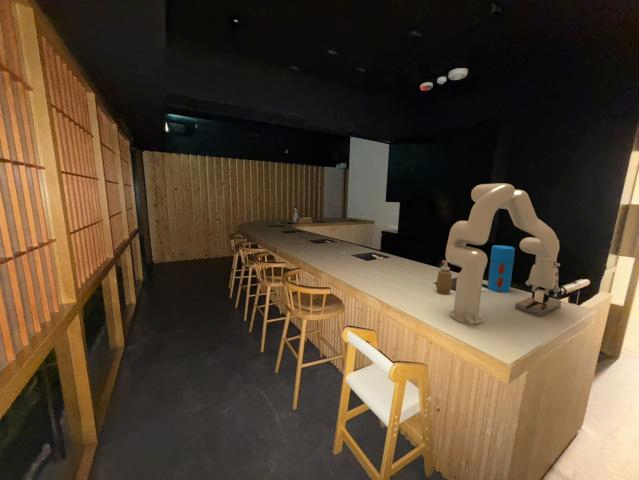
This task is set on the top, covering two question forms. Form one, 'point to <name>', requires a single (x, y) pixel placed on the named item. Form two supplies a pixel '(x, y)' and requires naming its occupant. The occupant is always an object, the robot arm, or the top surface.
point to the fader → (539, 296)
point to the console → (537, 306)
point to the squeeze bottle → (444, 280)
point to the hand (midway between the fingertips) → (539, 300)
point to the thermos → (501, 268)
